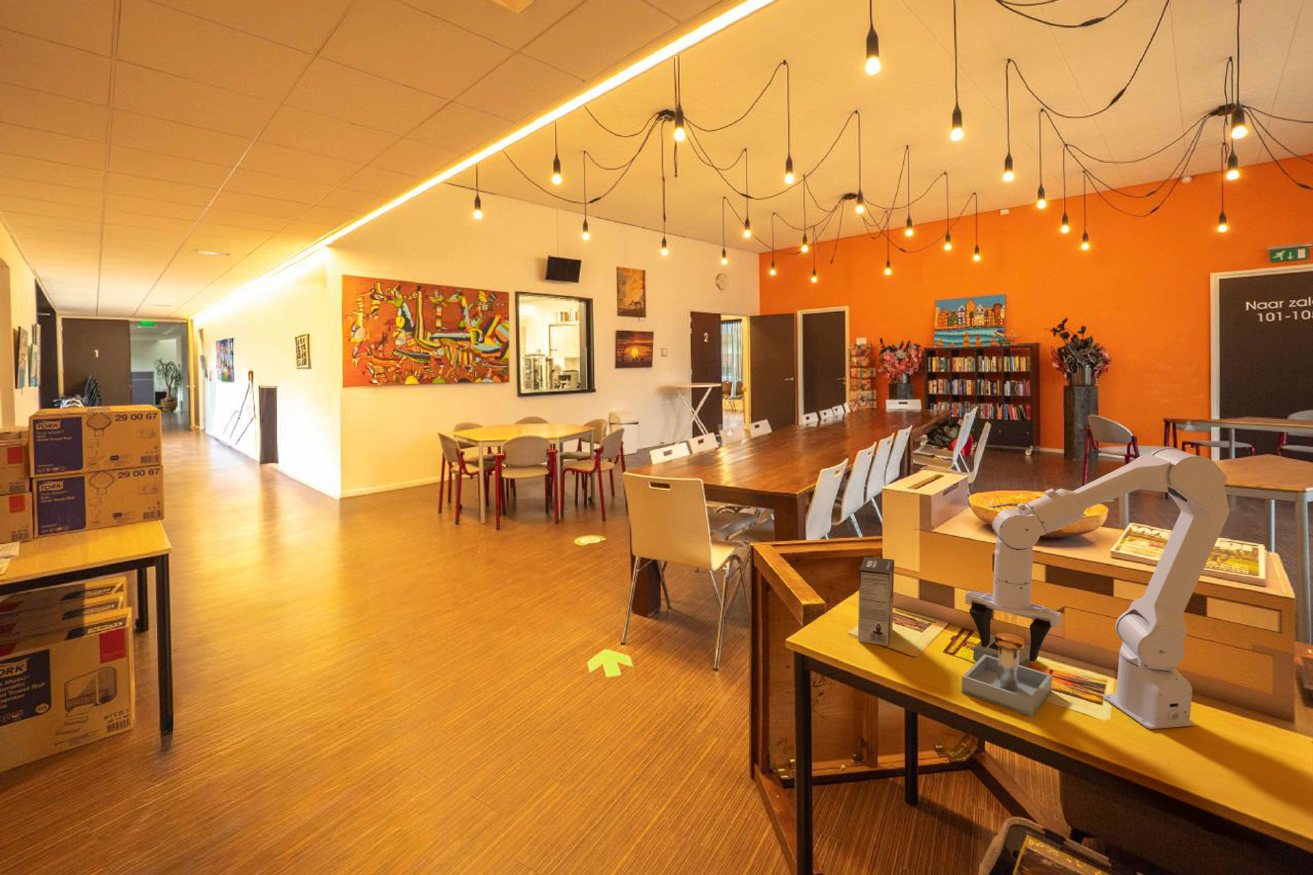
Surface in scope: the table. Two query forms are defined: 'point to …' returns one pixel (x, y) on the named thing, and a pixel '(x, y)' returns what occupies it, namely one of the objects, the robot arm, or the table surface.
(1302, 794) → the table surface
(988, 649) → the grey square socket block
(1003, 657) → the pin
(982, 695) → the tray
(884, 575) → the coffee box
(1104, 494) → the robot arm
